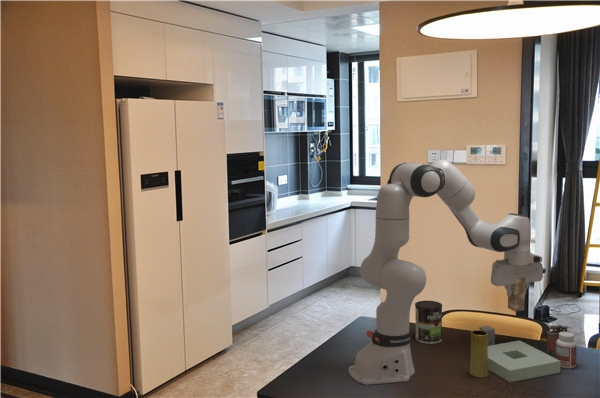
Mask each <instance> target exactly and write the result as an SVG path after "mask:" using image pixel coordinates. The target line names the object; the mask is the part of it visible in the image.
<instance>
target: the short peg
mask: <svg viewBox="0 0 600 398" xmlns="http://www.w3.org/2000/svg"><path fill="white" fill-rule="evenodd" d="M478 330H483V331H486V332H487V333H488V346H490V345H496V344H495V343H496V342H495V341H496V329H495V328H494V327H492V326H490V325H483V326H479V327H478Z"/></svg>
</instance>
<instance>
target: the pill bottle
mask: <svg viewBox="0 0 600 398" xmlns="http://www.w3.org/2000/svg"><path fill="white" fill-rule="evenodd" d="M570 332H571V331H569V332H560V333H559V338H560V339H558V340H557V342H556V354H555V359H557V360H559V361H561V364H560V368H562V369H573V368H576V366H577V342H576V341H575V340H574V339H575V334H574V333H573V332H571V333H570Z"/></svg>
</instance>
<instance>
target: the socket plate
mask: <svg viewBox="0 0 600 398" xmlns="http://www.w3.org/2000/svg"><path fill="white" fill-rule="evenodd" d="M560 364H561V361H559V360H557V359H556V357H553V356H552V355H549V353H546V352H544V351H541V350H539V349H538V348H535V347H534V346H531V345H529V343H528V344H527V343H526V342H523V341H521V340H516V341H515V340H514V341H509V342H505V343H504V342H503V343H502V342H501V343H498V344H493V345H488V371H490V372H492V373H494V374H495V375H496V376H498V377H500V378H502V379H503V380H505V381H506V382H508V383H513V382H519V381H523V380H524V381H525V380H530V379H535V378H540V377H544V376H549V375H554V374H560V373H561V367H560Z"/></svg>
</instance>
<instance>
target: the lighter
mask: <svg viewBox="0 0 600 398" xmlns="http://www.w3.org/2000/svg"><path fill="white" fill-rule="evenodd" d="M548 329H549V330H547V331H546V334H547V344H546V346H547V348H546V352H547V353H546V354H553V355H556V342H557V340H558V339H560V338H559V333H560V332H570V333H572V332H571V331H570V330H569V331H568V326H567V325H561V324H558V325H549V328H548Z"/></svg>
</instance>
